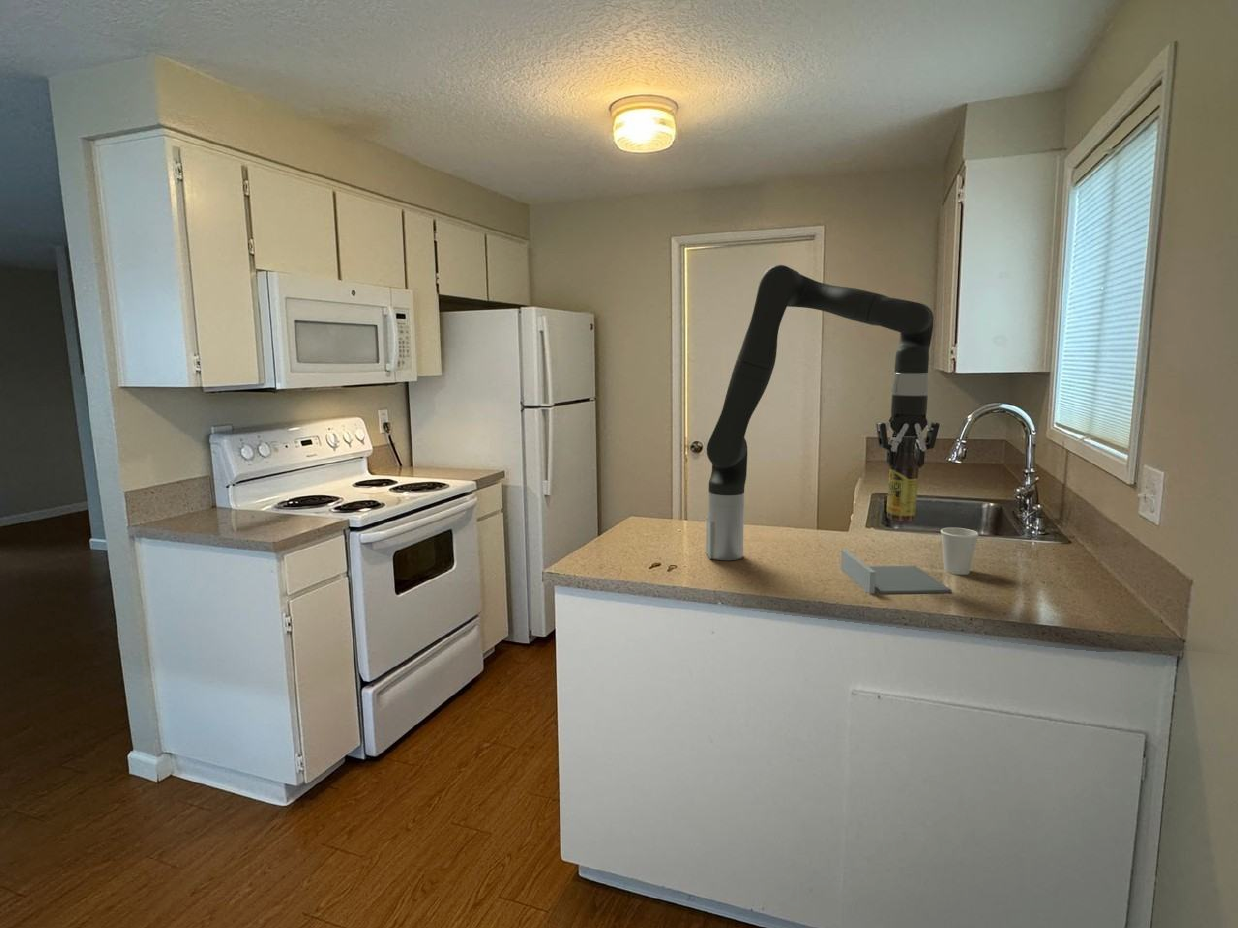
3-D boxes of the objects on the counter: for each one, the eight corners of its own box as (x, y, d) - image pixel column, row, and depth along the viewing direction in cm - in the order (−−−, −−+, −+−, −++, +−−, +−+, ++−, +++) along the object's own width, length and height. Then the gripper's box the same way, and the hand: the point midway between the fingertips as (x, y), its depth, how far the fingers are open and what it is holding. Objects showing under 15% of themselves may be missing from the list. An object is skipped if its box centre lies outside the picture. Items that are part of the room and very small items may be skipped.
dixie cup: (973, 567, 176) (976, 528, 174) (978, 578, 168) (981, 537, 166) (936, 564, 178) (939, 526, 177) (939, 574, 170) (942, 534, 169)
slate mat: (880, 593, 157) (880, 591, 157) (851, 569, 175) (851, 566, 175) (951, 592, 158) (951, 589, 158) (914, 568, 176) (915, 565, 176)
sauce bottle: (881, 517, 167) (885, 433, 164) (906, 516, 168) (911, 433, 164) (894, 523, 161) (899, 437, 158) (920, 522, 161) (926, 436, 158)
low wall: (869, 593, 157) (870, 572, 156) (840, 569, 175) (841, 549, 174) (874, 593, 157) (875, 572, 156) (845, 569, 175) (846, 549, 174)
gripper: (885, 394, 156) (880, 470, 158) (949, 394, 156) (943, 469, 159) (871, 392, 163) (867, 464, 166) (933, 392, 164) (928, 464, 166)
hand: (905, 466), depth 162 cm, fingers closed on sauce bottle, 5 cm apart
